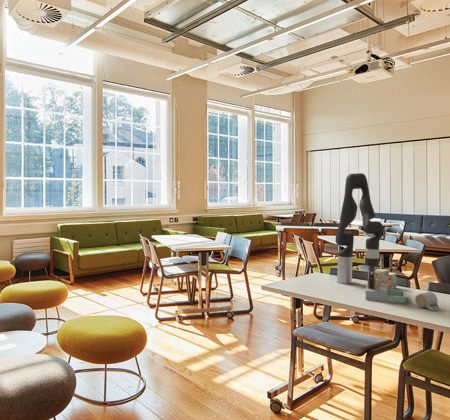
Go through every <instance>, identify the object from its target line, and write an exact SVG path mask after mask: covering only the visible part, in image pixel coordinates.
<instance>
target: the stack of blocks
mask: <svg viewBox="0 0 450 420" xmlns="http://www.w3.org/2000/svg"><path fill="white" fill-rule="evenodd" d="M374 278H378V286H379V284H386V286H387V289H393V290H395V289H396V288H397V273H396V272H390V270H389V269H383V268H378V269H376V271H375V277H374Z"/></svg>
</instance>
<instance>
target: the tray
mask: <svg viewBox="0 0 450 420" xmlns="http://www.w3.org/2000/svg"><path fill="white" fill-rule="evenodd" d="M407 302H408V297H407V293H406V291H405V290H404V289H387V303H391V304H401V305H403V304H404V305H408V304H407Z"/></svg>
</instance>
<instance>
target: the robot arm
mask: <svg viewBox="0 0 450 420" xmlns="http://www.w3.org/2000/svg"><path fill="white" fill-rule="evenodd" d="M344 187H345V188H344V197H343V201H342V207H341V211H340V218H339V224H338V227H337V230H336V231H337V232H336V234H335V244H336V246H341V247H342V246H343V247H345V248H344V249H342V250H339V251H338V252H337V276H336V277H337V278H336V279H337V280H336V281H337V283H339V284H343V285H345V284H347V285H348V284H352V283H353V255H354V254H353V253H354V233H353V232H352V231H346V229H347V227H348V226H350V225H351V224H352V223H353V221H355V219H356V218H357V215H358V214H357V212H358V206H359V211H360V213H361V217H362V219H361V220H362V229H363V232H364V233H365V234H367V235H372V236H371V237H368V238H366V240H365V251H364V265H365V266H366V267H367V266H369V268H367V278H369V288H373V284H374V277H375V271H376V270H377V269H376V268H375V267H379V266H380V241H381V238H382V234H383V232H384V231H383V230H384V226H383V224H382V222H380V221H377V220H376V221H374V220H373V219H374V218H375V217H376V213H375V211H374V210H375V209H374V207H373V204H372V200H371V195H370V188H369V185H368V178H367V176H366V174H365V173H361V172H360V173H359V172H358V173H350V174H348V175H346V179H345V185H344ZM356 189H357V190H361V194H362V195H361V198H360V201H359V205H358V204H357V202H356V200H355V199H354V196H353V191H354V190H356ZM372 220H373V221H372ZM370 278H373V279H370Z"/></svg>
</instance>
